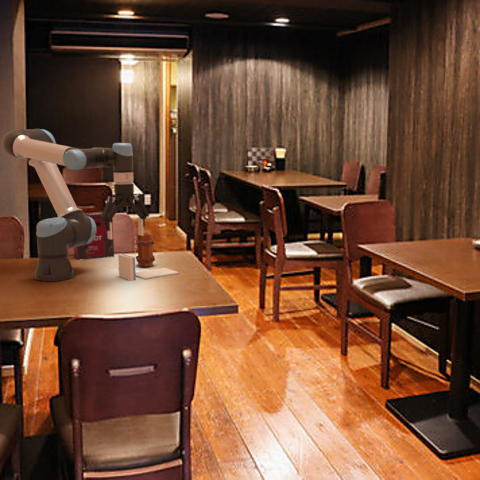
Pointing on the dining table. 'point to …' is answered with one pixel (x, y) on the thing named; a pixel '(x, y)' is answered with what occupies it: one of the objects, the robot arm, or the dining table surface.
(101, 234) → the box
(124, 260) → the tile
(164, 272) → the mat
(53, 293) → the dining table surface
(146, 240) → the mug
